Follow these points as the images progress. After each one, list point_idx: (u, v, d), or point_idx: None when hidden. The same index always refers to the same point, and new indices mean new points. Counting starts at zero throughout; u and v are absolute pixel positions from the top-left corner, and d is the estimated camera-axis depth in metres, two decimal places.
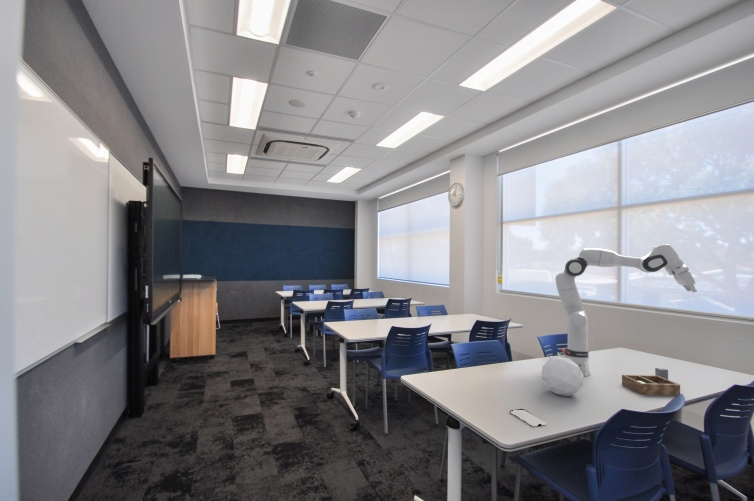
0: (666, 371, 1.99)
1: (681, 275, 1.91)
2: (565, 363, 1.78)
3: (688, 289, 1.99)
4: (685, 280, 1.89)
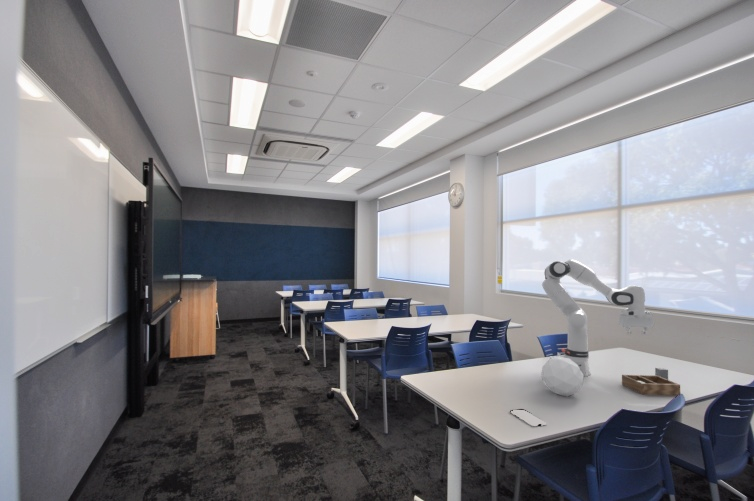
0: (666, 371, 1.99)
1: (620, 315, 2.16)
2: (565, 363, 1.78)
3: (642, 332, 2.15)
4: (619, 320, 2.16)
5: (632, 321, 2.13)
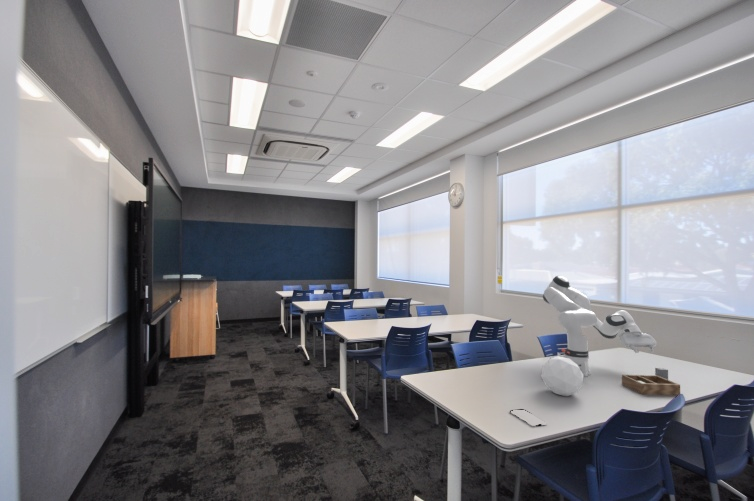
0: (666, 371, 1.99)
1: (620, 337, 2.22)
2: (565, 363, 1.78)
3: (650, 351, 2.14)
4: (621, 342, 2.20)
5: (632, 339, 2.18)
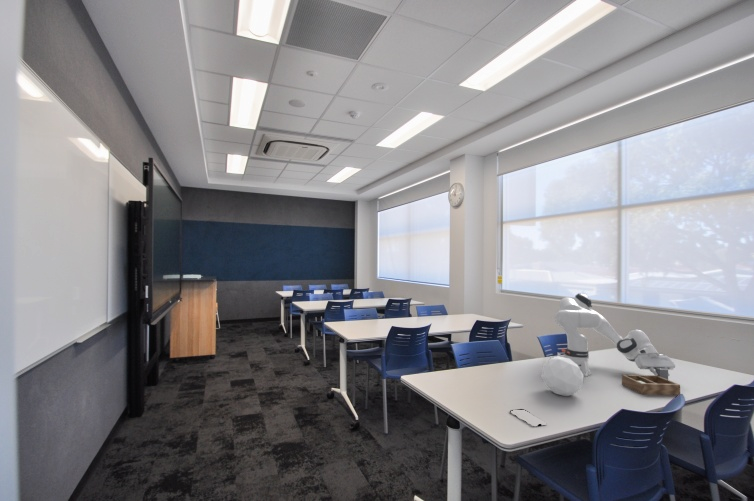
0: (666, 371, 1.99)
1: (635, 359, 2.09)
2: (565, 363, 1.78)
3: None
4: (636, 363, 2.07)
5: (649, 361, 2.04)
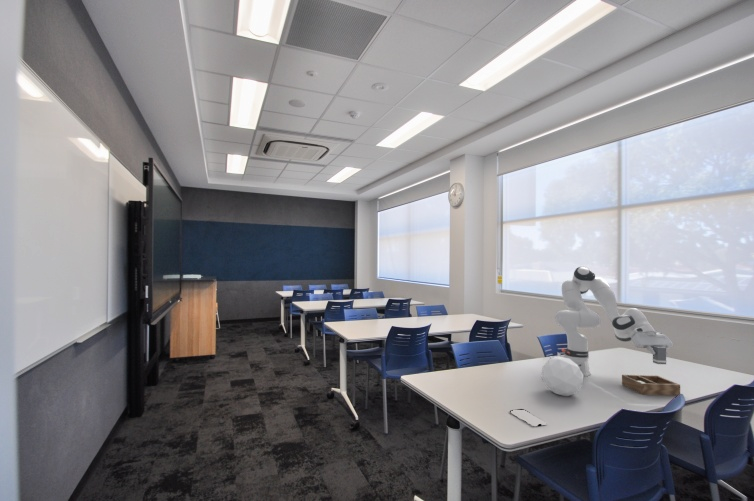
0: (664, 349, 1.90)
1: (631, 338, 2.00)
2: (565, 363, 1.78)
3: None
4: (633, 342, 1.98)
5: (646, 339, 1.96)
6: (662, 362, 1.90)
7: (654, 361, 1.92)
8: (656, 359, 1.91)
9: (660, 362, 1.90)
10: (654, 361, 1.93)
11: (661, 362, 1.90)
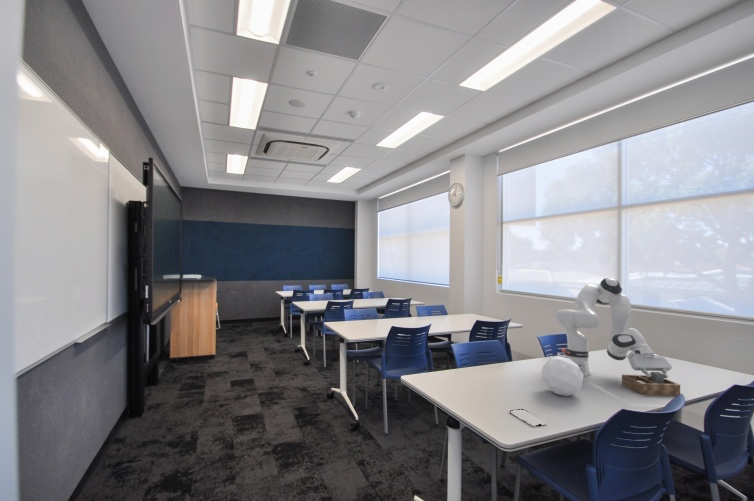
0: (662, 376, 1.88)
1: (629, 360, 1.99)
2: (565, 363, 1.78)
3: None
4: (631, 364, 1.96)
5: (644, 362, 1.94)
6: None
7: None
8: None
9: None
10: None
11: None
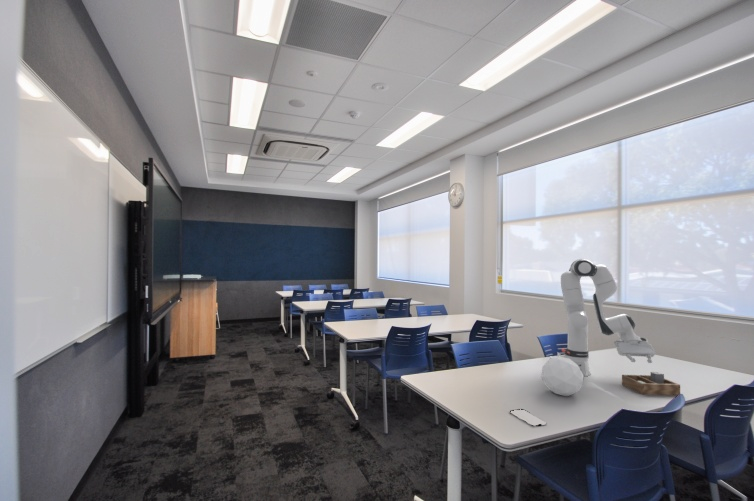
0: (662, 376, 1.88)
1: None
2: (565, 363, 1.78)
3: None
4: None
5: None
6: None
7: None
8: None
9: None
10: None
11: None
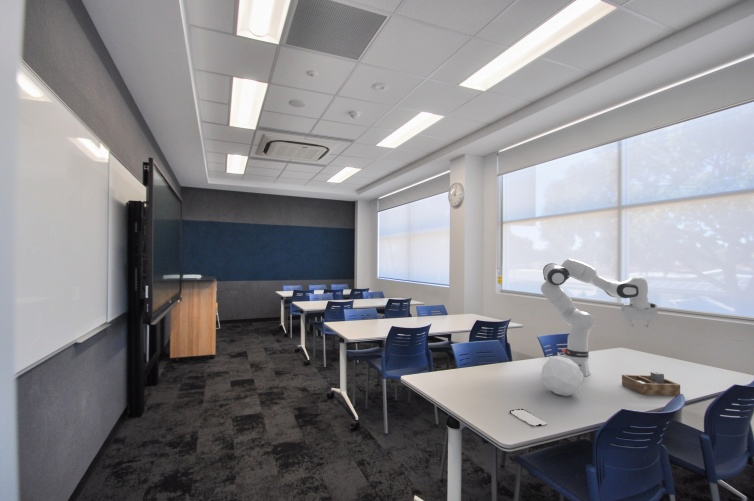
0: (662, 376, 1.88)
1: None
2: (565, 363, 1.78)
3: None
4: None
5: None
6: None
7: None
8: None
9: None
10: None
11: None
